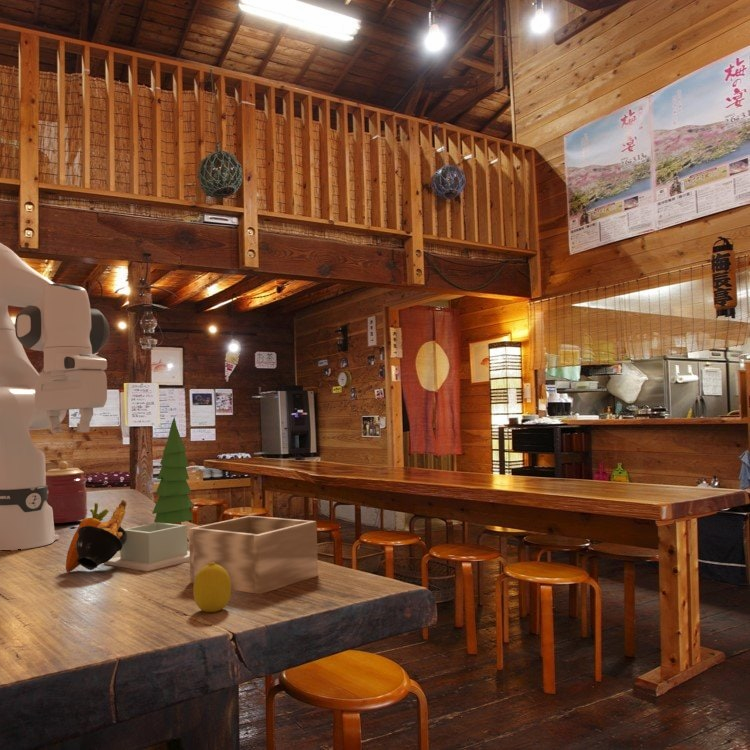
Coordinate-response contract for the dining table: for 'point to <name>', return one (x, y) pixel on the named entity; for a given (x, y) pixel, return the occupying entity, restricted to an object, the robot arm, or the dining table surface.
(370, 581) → the dining table surface
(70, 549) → the carrot
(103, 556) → the bowl of food
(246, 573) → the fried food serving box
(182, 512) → the decorative tree
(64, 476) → the canister
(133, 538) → the open rectangular box
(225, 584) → the lemon
